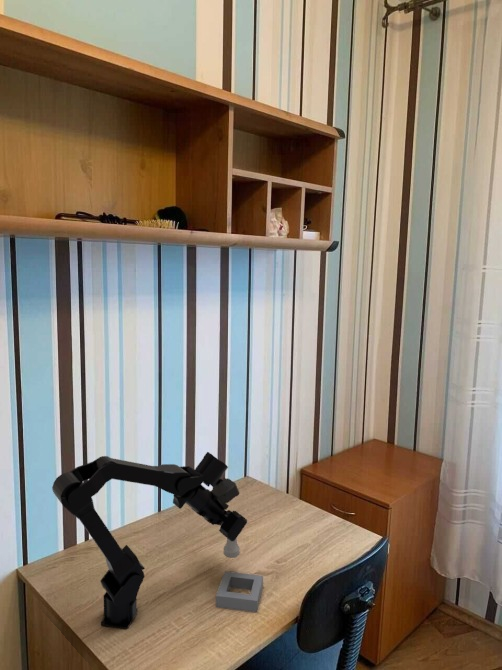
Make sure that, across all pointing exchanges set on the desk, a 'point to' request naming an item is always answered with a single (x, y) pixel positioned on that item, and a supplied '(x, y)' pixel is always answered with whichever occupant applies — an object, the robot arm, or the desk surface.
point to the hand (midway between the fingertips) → (236, 529)
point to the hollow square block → (238, 599)
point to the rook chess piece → (231, 549)
